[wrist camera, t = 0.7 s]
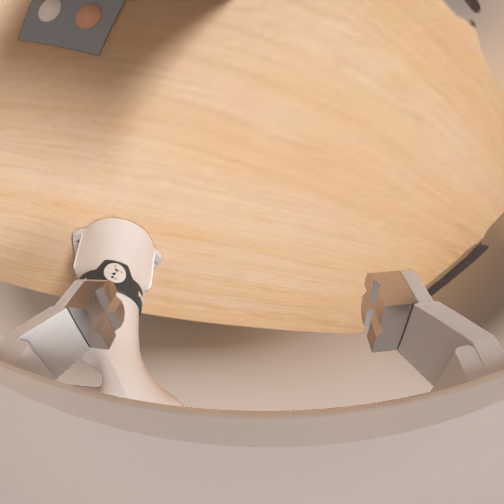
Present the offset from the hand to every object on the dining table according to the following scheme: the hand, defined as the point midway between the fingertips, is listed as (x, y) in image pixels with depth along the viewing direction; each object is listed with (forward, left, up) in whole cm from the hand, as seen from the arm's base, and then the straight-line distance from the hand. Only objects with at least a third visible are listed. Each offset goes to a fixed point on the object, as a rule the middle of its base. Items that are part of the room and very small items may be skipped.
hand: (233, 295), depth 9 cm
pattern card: (+2, +21, -34) cm, 40 cm away
